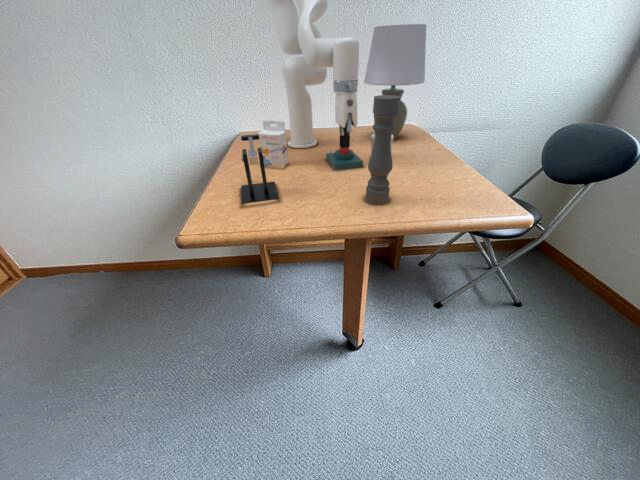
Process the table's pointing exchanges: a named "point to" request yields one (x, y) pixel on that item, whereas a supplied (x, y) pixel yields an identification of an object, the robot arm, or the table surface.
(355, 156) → the button block
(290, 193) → the table surface
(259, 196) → the bracket
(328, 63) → the robot arm
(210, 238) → the table surface
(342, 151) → the button
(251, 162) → the lever
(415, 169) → the table surface
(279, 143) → the ink box
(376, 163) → the candle holder
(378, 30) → the lamp
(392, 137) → the cup
